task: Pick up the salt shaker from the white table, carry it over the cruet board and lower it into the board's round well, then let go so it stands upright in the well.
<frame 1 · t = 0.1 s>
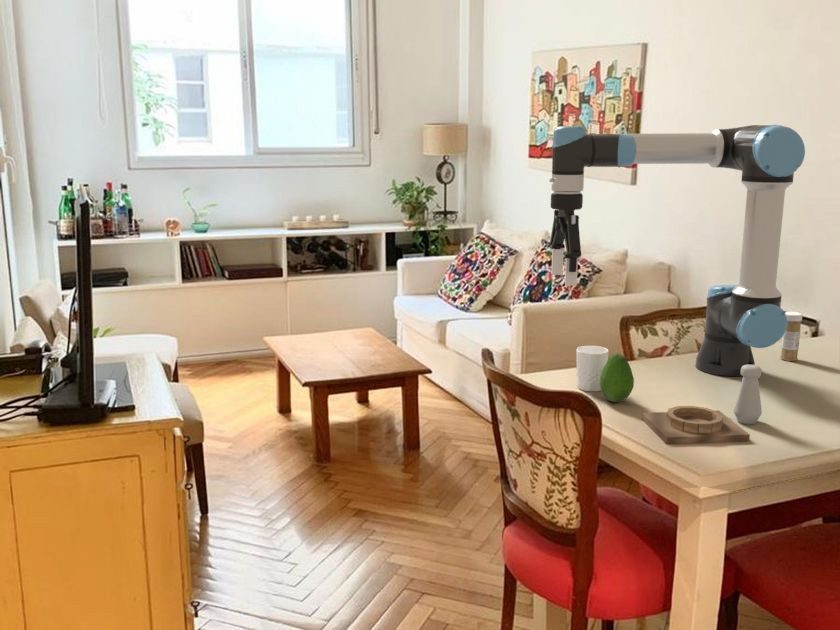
hand: (563, 279, 203), 28 cm above the table, tool pointing down, fingers open, 13 cm apart
sprinkles bottle: (788, 360, 235), on the table
salt shaker: (746, 422, 187), on the table
avocado: (615, 402, 200), on the table
white cup: (590, 388, 211), on the table
cruet board: (693, 429, 182), on the table
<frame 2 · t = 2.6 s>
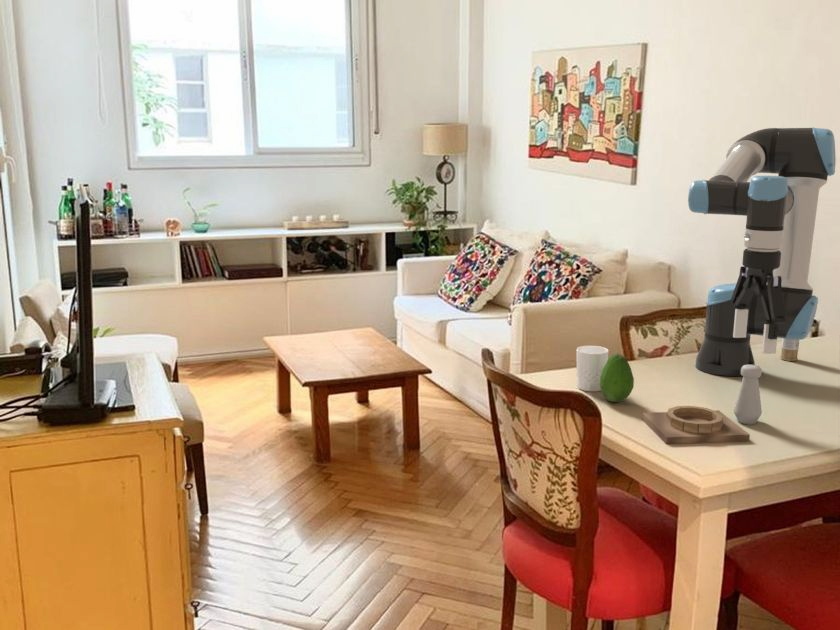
hand: (753, 345, 183), 18 cm above the table, tool pointing down, fingers open, 13 cm apart
nothing on the table moved.
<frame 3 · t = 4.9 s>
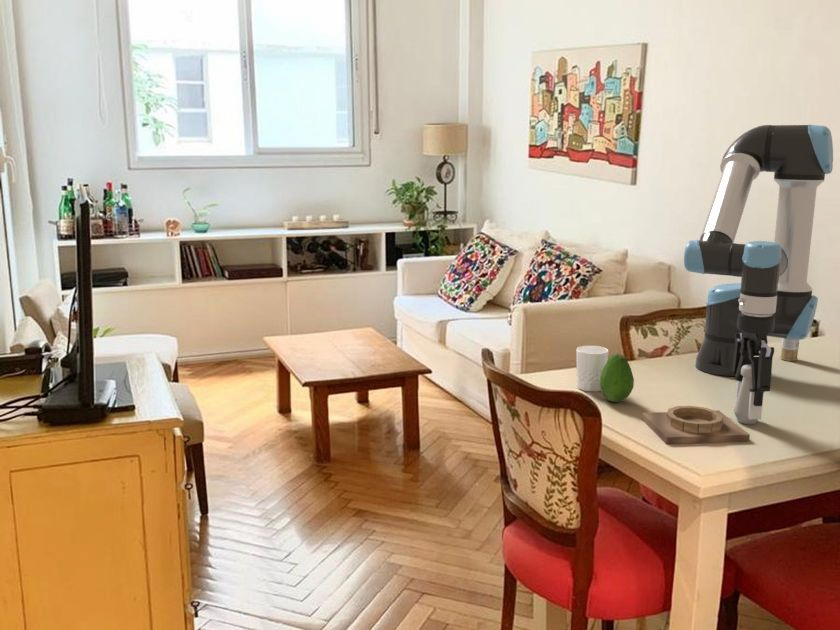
hand: (747, 413, 186), 2 cm above the table, tool pointing down, fingers closed on salt shaker, 6 cm apart
salt shaker: (746, 422, 187), on the table, touching gripper
everything else where it was.
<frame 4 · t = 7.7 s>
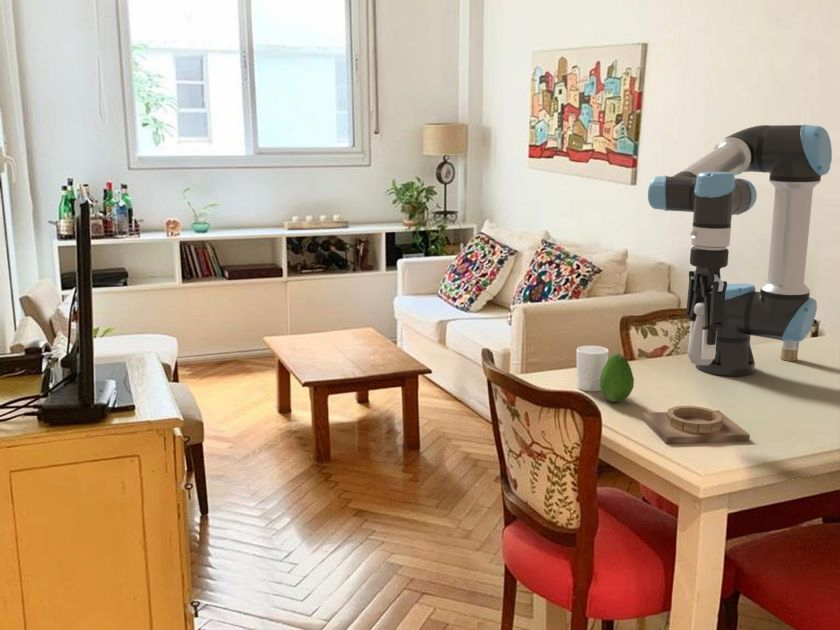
hand: (701, 354, 178), 17 cm above the table, tool pointing down, fingers closed on salt shaker, 6 cm apart
salt shaker: (700, 363, 178), point 15 cm above the table, touching gripper
everything else where it was.
when the fingers open (6 cm above the table, at t = 10.5 s): salt shaker drops 2 cm, resting on cruet board.
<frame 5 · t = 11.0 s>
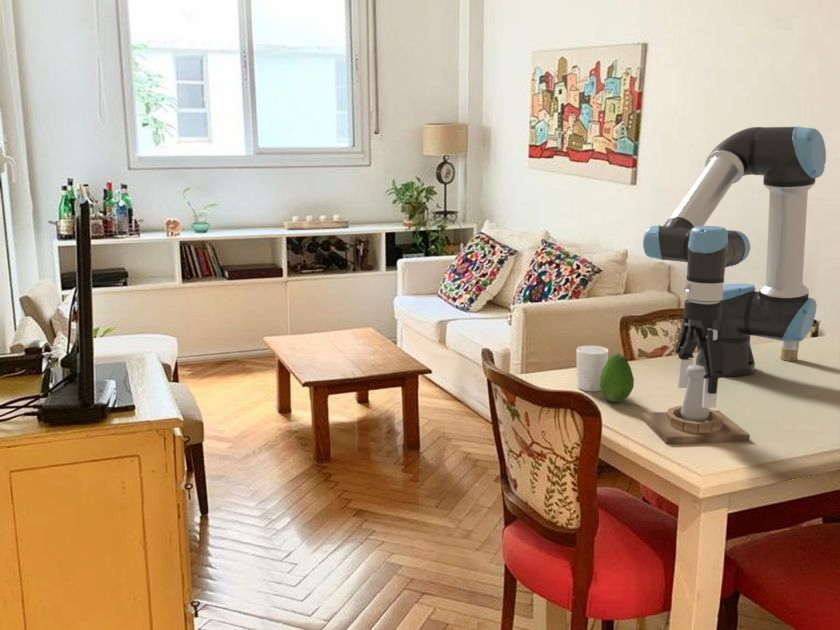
hand: (696, 397, 180), 8 cm above the table, tool pointing down, fingers open, 12 cm apart
salt shaker: (693, 423, 182), point 1 cm above the table, touching cruet board
everything else where it was.
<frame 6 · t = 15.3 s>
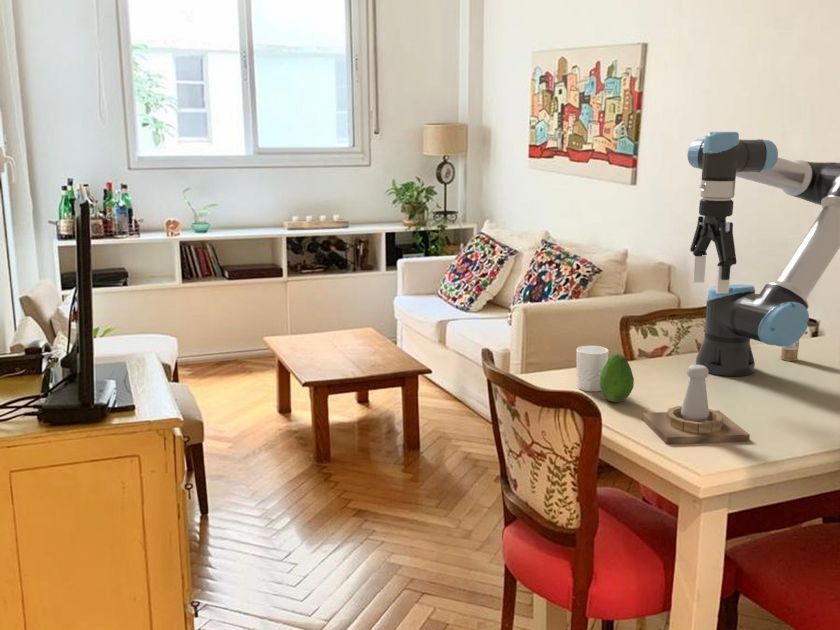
hand: (709, 287, 200), 27 cm above the table, tool pointing down, fingers open, 13 cm apart
nothing on the table moved.
at the end: salt shaker 0.1 cm off-centre on the cruet board, point 1.3 cm above the cruet board's base; salt shaker tilted 0°; salt shaker touching cruet board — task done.
